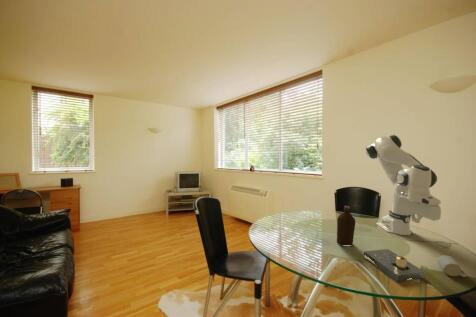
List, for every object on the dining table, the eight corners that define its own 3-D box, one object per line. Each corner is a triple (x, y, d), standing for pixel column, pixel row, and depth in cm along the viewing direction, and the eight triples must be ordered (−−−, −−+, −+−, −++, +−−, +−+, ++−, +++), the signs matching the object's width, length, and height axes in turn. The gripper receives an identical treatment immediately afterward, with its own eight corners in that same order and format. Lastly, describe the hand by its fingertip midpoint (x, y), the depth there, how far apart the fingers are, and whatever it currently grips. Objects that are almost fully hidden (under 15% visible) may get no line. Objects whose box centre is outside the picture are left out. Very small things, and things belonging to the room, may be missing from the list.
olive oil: (357, 246, 142) (360, 208, 139) (342, 248, 140) (345, 209, 137) (346, 238, 152) (349, 203, 149) (332, 240, 150) (334, 204, 147)
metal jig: (363, 257, 130) (364, 251, 130) (387, 254, 133) (387, 248, 133) (397, 282, 109) (397, 275, 108) (424, 278, 112) (424, 271, 111)
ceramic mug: (443, 275, 114) (445, 261, 113) (436, 266, 122) (438, 253, 121) (470, 281, 110) (473, 266, 109) (461, 271, 118) (463, 258, 117)
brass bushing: (392, 270, 118) (394, 256, 117) (399, 269, 119) (401, 255, 118) (400, 275, 114) (401, 260, 113) (407, 274, 115) (409, 259, 114)
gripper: (394, 191, 126) (392, 215, 127) (434, 203, 106) (431, 230, 108) (403, 190, 127) (401, 214, 129) (444, 202, 107) (441, 229, 109)
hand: (415, 221), depth 118 cm, fingers closed
